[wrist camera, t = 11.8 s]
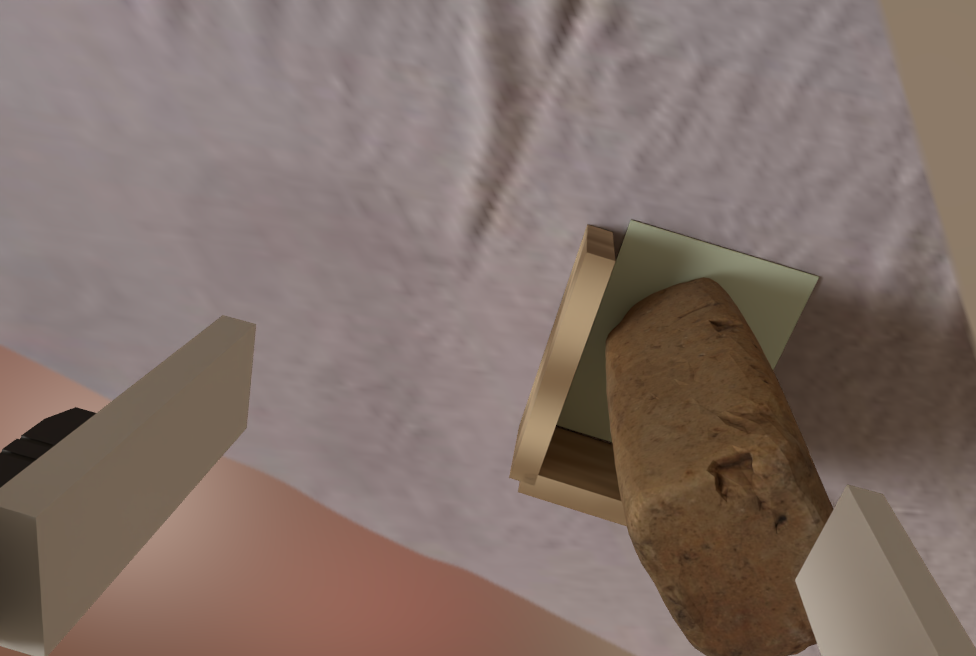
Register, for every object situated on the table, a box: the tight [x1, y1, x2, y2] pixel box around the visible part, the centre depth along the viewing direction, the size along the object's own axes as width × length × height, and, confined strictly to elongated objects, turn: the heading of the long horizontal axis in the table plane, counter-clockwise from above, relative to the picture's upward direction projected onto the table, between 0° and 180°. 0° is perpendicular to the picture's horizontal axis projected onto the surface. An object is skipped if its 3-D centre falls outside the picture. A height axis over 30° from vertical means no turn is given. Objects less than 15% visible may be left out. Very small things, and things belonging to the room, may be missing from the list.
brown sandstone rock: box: [605, 277, 833, 656], centre depth 33 cm, size 11×8×20 cm
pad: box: [557, 220, 819, 442], centre depth 43 cm, size 14×11×1 cm
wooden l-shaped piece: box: [509, 224, 627, 526], centre depth 40 cm, size 15×16×6 cm
